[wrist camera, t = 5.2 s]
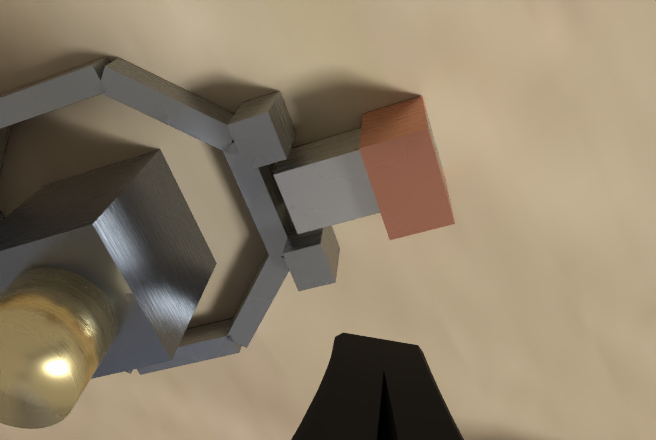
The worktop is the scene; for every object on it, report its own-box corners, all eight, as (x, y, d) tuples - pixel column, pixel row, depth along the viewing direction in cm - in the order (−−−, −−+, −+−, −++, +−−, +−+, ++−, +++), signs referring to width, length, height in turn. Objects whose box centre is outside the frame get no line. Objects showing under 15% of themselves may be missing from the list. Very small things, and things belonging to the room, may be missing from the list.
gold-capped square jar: (216, 262, 21) (139, 431, 14) (107, 291, 22) (-14, 462, 15) (160, 148, 19) (40, 281, 12) (43, 185, 20) (-126, 327, 13)
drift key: (445, 180, 19) (454, 223, 16) (308, 217, 20) (298, 263, 17) (422, 95, 17) (427, 128, 15) (277, 139, 18) (261, 176, 16)
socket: (362, 307, 21) (360, 344, 19) (76, 373, 24) (51, 411, 22) (247, 5, 17) (230, 18, 15) (-90, 127, 19) (-138, 150, 18)
